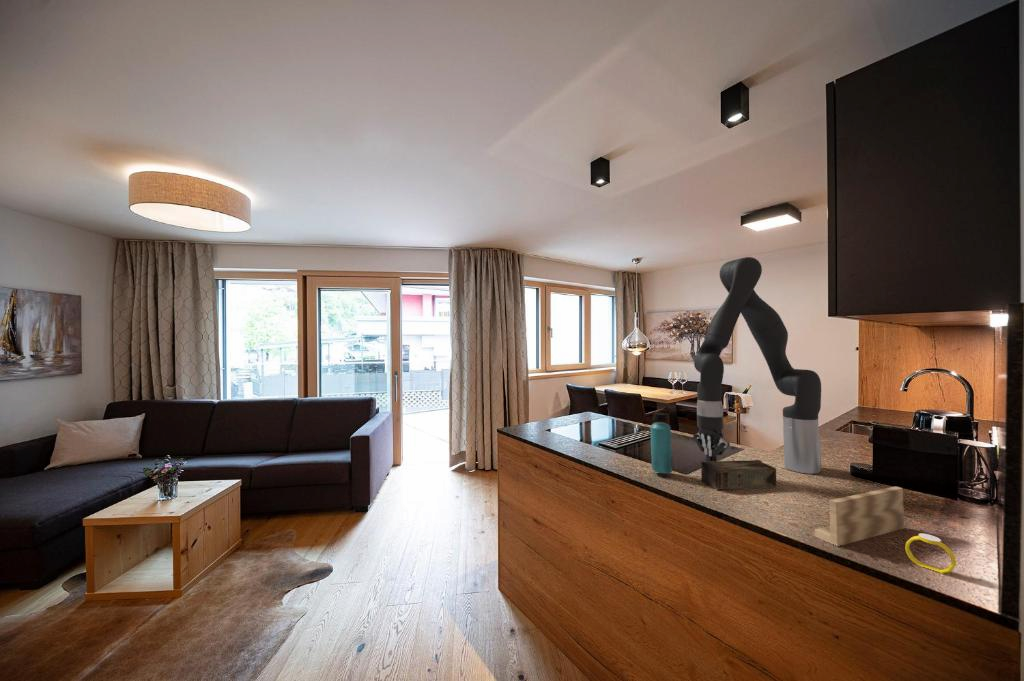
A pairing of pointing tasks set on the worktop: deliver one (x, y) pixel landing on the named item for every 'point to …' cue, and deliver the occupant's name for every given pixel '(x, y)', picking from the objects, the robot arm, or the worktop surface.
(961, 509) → the worktop surface
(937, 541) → the watch
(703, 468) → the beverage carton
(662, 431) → the beverage bottle
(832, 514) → the stand
